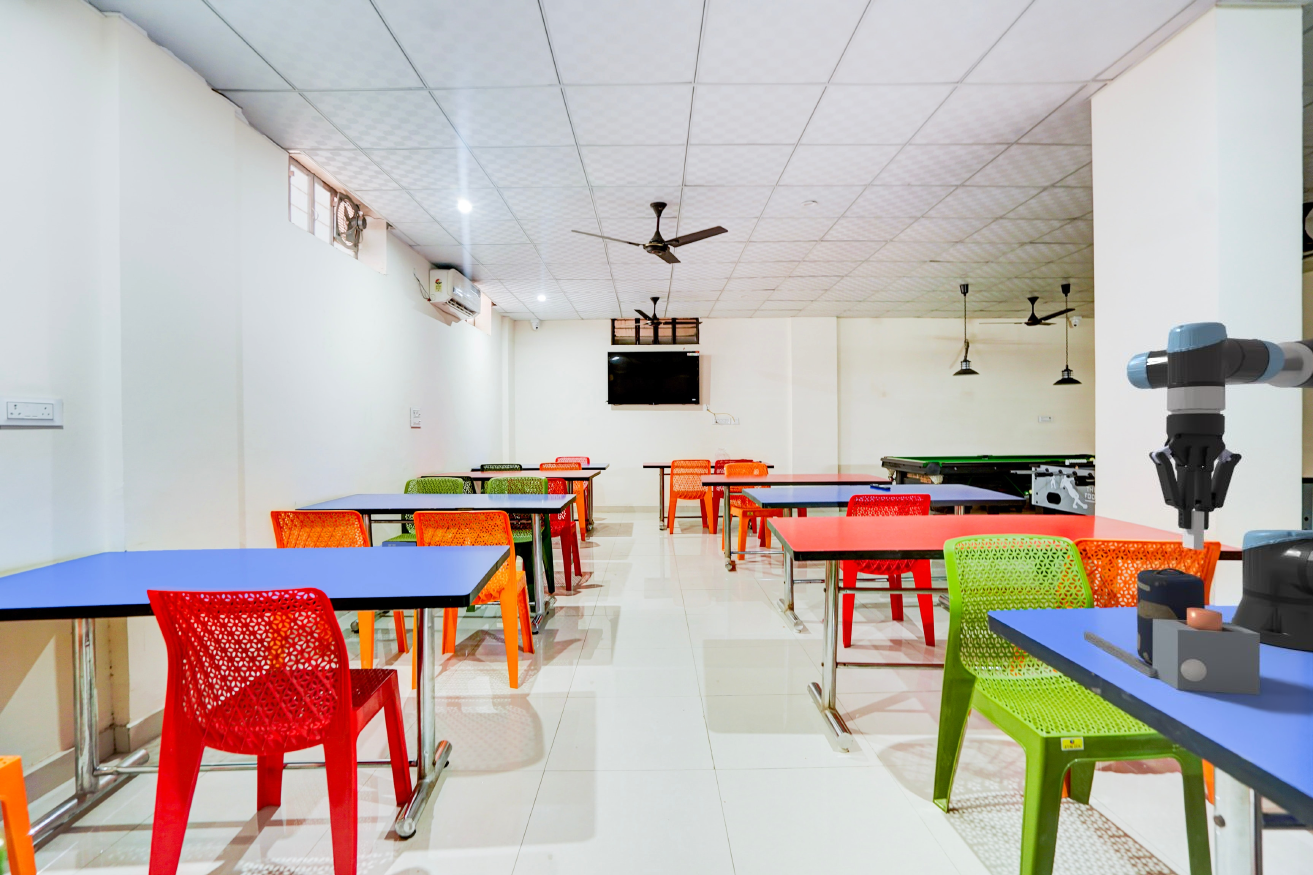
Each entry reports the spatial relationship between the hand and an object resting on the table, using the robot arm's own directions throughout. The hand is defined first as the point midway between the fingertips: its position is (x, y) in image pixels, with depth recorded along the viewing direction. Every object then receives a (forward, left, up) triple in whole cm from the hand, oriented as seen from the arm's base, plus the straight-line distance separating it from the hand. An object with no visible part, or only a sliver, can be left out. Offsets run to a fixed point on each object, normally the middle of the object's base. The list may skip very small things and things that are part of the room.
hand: (1192, 547), depth 102 cm
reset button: (0, +2, -15) cm, 15 cm away
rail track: (-1, -10, -23) cm, 25 cm away
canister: (-1, -7, -23) cm, 24 cm away
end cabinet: (0, +2, -23) cm, 23 cm away
